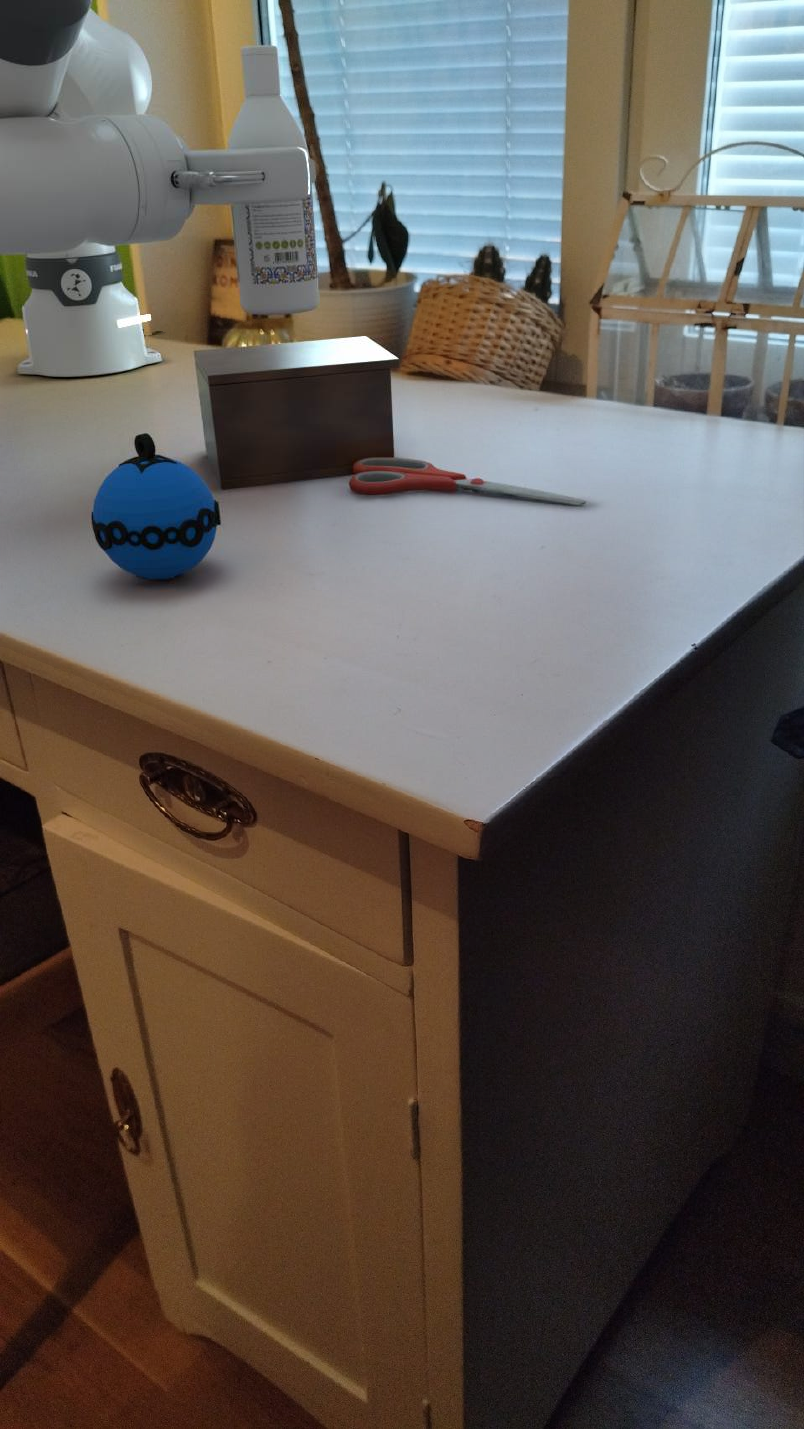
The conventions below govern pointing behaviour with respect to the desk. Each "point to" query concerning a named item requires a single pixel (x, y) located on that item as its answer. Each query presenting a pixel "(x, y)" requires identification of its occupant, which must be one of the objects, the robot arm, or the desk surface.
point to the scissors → (432, 481)
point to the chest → (295, 426)
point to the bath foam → (279, 232)
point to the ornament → (154, 515)
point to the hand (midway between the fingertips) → (277, 171)
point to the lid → (293, 360)
